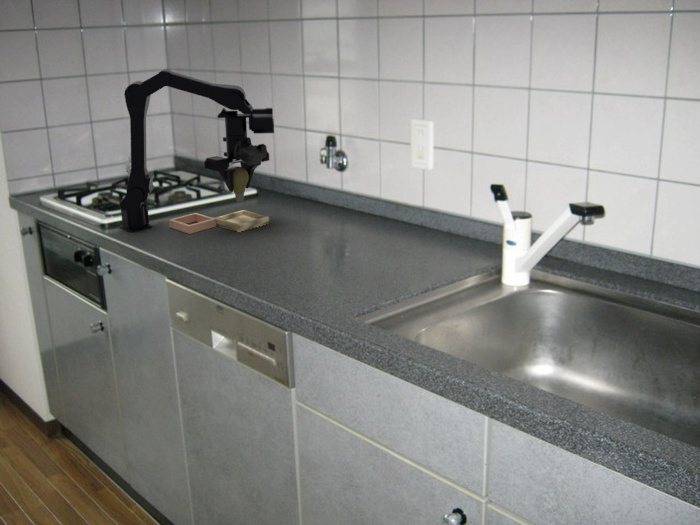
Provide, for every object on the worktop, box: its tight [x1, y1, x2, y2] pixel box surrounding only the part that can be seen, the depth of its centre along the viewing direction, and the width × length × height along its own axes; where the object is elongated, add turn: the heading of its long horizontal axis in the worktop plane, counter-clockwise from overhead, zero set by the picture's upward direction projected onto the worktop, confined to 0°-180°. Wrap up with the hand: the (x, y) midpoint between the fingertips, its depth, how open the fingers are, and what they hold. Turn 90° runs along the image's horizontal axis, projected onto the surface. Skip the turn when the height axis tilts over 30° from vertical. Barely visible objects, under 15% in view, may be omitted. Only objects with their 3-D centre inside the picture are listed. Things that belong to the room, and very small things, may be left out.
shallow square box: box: [168, 212, 217, 235], centre depth 215 cm, size 9×9×2 cm
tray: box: [214, 209, 270, 233], centre depth 217 cm, size 11×11×2 cm
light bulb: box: [232, 166, 249, 203], centre depth 213 cm, size 6×6×10 cm
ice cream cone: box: [125, 152, 131, 177], centre depth 245 cm, size 5×5×15 cm
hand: (239, 189), depth 214 cm, fingers closed on light bulb, 5 cm apart
